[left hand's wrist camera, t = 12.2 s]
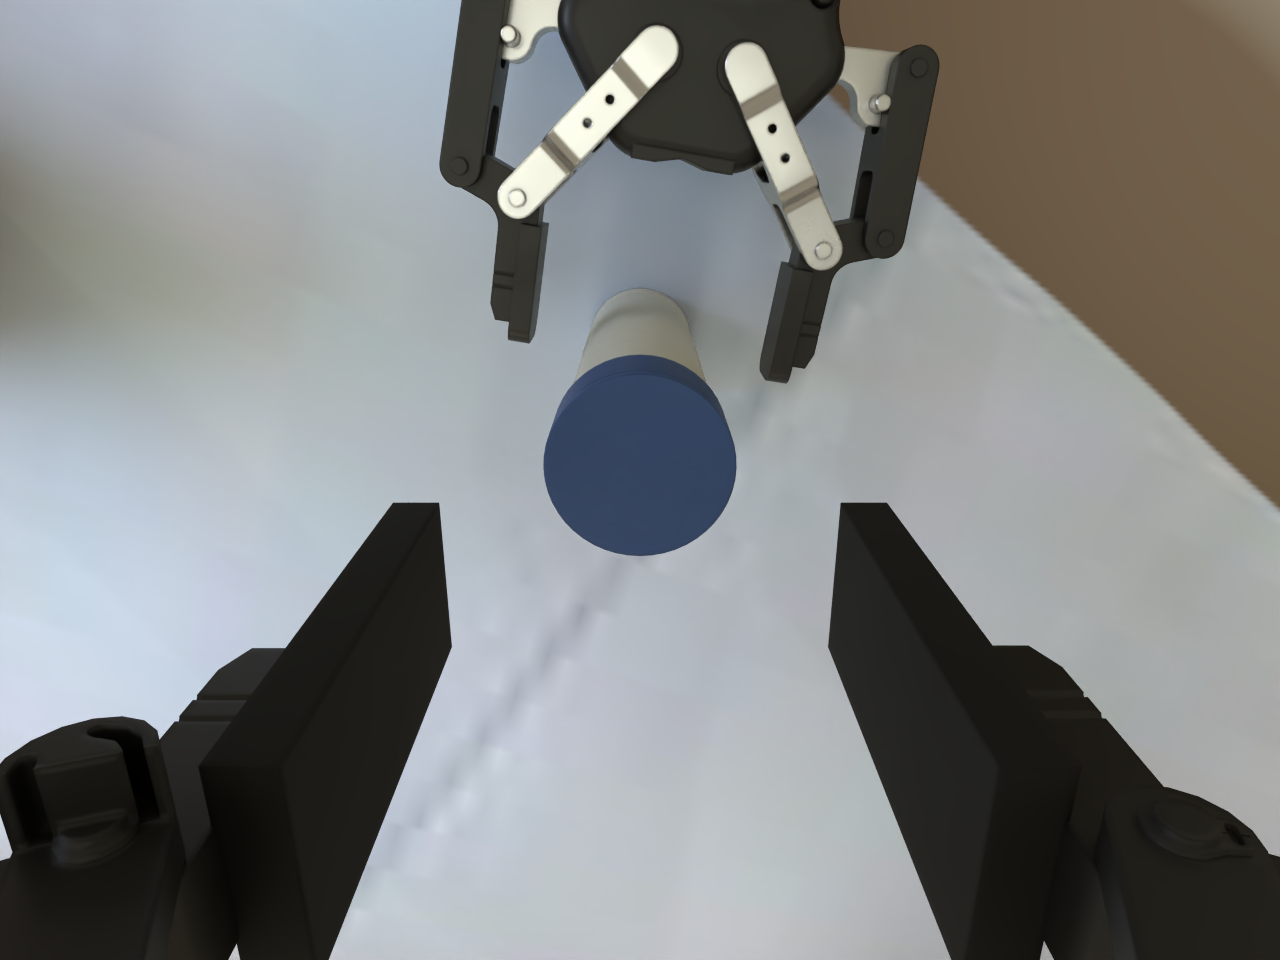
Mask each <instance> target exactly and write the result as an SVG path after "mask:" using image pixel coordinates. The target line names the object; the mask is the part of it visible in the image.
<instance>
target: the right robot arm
mask: <svg viewBox="0 0 1280 960" xmlns="http://www.w3.org/2000/svg"><path fill="white" fill-rule="evenodd" d="M839 5H840V0H462V2H461V9H460V16H459V24H458V31H457V38H456V46H455V53H454V60H453V67H452V75H451V82H450V89H449V97H448V104H447V111H446V119H445V126H444V133H443V141H442V148H441V155H440V171H441V174H442V176H443V177H444V179H445V180H446V181H447V182H448V183H449V184H451V185H453V186H455V187H461V188H463V189H464V190H466V191H468V192H470V193H471V194H473V195H475V196H477V197H478V198H480V199H482V200H484V201H485V202H487V203H488V204H489V205H490V206H491V207H492V208H493V210H494V212H495V214H496V216H497V219H498V234H497V244H496V254H495V264H494V274H493V285H492V293H491V307H492V310H493V314H494V317H495V320H501V321H507V322H509V328H508V340H511V341H518V342H524V343H530V342H531V340H532V338H533V337H534V334H535V330H536V324H537V317H538V308H539V300H540V292H541V284H542V276H543V267H544V259H545V251H546V243H547V235H548V226H549V223H545V222H542V221H543V212H544V205H545V204H546V203H547V202H548V201H549V200H550V199H551V198H552V197H553V196H554V195H555V193H556V192H557V191H558V190H559V189H560V188H561V187H562V186H563V185H564V184H565V183H566V182H567V181H568V180H569V179H570V178H571V177H572V176H573V175H574V174H575V173H576V172H577V171H578V170H579V169H580V168H581V167H582V166H583V165H584V164H585V163H586V162H587V161H588V160H589V159H590V158H591V157H592V156H593V155H594V154H595V153H596V152H597V151H598V150H599V149H600V148H601V147H602V146H603V145H604V144H605V143H606V142H607V141H608V140H609V139H610V140H611V141H612V142H613V144H614V145H615V146H616V147H617V148H618V149H620V150H621V151H622V152H624V153H625V154H627V155H629V156H631V158H635V159H641V160H646V161H652V162H658V161H667V160H677V159H679V160H682V161H684V162H686V163H688V164H690V165H693V166H695V167H697V168H699V169H701V170H703V171H709V172H715V173H720V174H727V175H732V174H733V173H739V172H742V171H745V170H748V169H750V168H752V170H753V172H754V174H755V177H756V179H757V181H758V183H759V185H760V188H761V190H762V192H763V194H764V196H765V198H766V200H767V201H768V203H769V204H770V206H771V208H772V210H773V212H774V214H775V216H776V219H777V221H778V223H779V225H780V227H781V230H782V232H783V234H784V236H785V238H786V241H787V243H788V245H789V247H790V249H791V255H790V260H789V263H788V262H782V261H781V265H780V270H779V275H778V279H777V284H776V288H775V293H774V298H773V302H772V307H771V312H770V316H769V321H768V325H767V330H766V335H765V339H764V344H763V349H762V353H761V358H760V372H761V374H762V375H763V377H764V379H765V380H767V381H773V382H779V383H787V382H788V380H789V378H790V375H791V371H792V367H798V368H804V369H805V367H806V366H807V364H808V363H809V361H810V360H811V359H812V357H813V356H814V353H815V349H816V345H817V340H818V336H819V332H820V328H821V323H822V319H823V315H824V311H825V307H826V303H827V298H828V294H829V290H830V286H831V282H832V279H833V277H834V275H835V274H836V272H837V271H838V270H839V269H840V268H842V267H843V266H845V265H846V264H849V263H852V262H857V261H862V260H868V259H873V258H881V259H885V258H889V257H892V256H894V255H895V254H897V253H898V252H899V251H900V249H901V248H902V246H903V243H904V239H905V234H906V230H907V225H908V220H909V215H910V210H911V205H912V200H913V195H914V190H915V185H916V180H917V175H918V170H919V165H920V161H921V156H922V151H923V146H924V141H925V136H926V131H927V126H928V121H929V116H930V111H931V106H932V101H933V97H934V92H935V86H936V82H937V77H938V72H939V59H938V56H937V54H936V52H935V51H934V50H933V49H932V48H930V47H928V46H926V45H916V46H913V47H910V48H908V49H906V50H903V51H901V52H893V51H884V50H876V49H867V48H859V47H850V46H844V42H843V39H842V35H841V31H840V24H839ZM555 31H556V32H559V34H560V37H561V40H562V42H563V44H564V46H565V48H566V51H567V53H568V55H569V57H570V59H571V61H572V63H573V65H574V67H575V69H576V72H577V74H578V76H579V78H580V80H581V82H582V84H583V86H584V88H585V90H586V93H585V94H584V95H583V96H582V97H581V98H580V99H579V100H578V101H577V102H576V104H575V105H574V106H573V107H572V108H571V109H570V110H569V111H568V112H567V113H566V114H565V115H564V116H563V117H562V118H561V119H560V120H559V122H558V123H557V124H556V125H555V126H554V127H553V128H552V129H551V130H550V131H549V132H548V134H547V135H546V136H545V137H544V139H543V140H542V142H541V143H540V144H539V145H538V146H537V147H536V148H535V149H534V150H533V151H532V152H531V154H530V155H529V156H528V157H527V158H526V159H525V160H524V161H523V162H522V163H521V164H520V165H519V166H518V167H517V168H516V169H515V168H513V167H511V166H510V165H508V164H506V163H504V162H503V161H501V160H499V159H498V158H496V157H495V151H496V144H497V138H498V132H499V125H500V119H501V113H502V106H503V100H504V94H505V87H506V81H507V74H508V68H509V63H514V64H520V63H523V62H525V61H527V60H528V59H529V58H530V57H531V56H532V54H533V52H534V49H535V46H536V44H537V42H538V40H539V39H540V38H541V37H542V36H543V35H544V34H546V33H548V32H555ZM836 83H837V84H840V85H841V86H843V87H844V88H845V89H846V91H847V93H848V95H849V98H850V114H851V117H852V119H853V120H854V122H856V123H857V124H858V125H859V126H862V127H866V130H865V135H864V141H863V146H862V152H861V158H860V163H859V169H858V174H857V180H856V185H855V191H854V196H853V202H852V208H851V213H850V219H845V220H839V221H834V222H833V221H832V219H831V216H830V214H829V212H828V209H827V207H826V205H825V202H824V200H823V198H822V195H821V193H820V189H819V182H818V179H817V176H816V174H815V171H814V169H813V167H812V164H811V162H810V160H809V157H808V155H807V153H806V151H805V148H804V146H803V144H802V141H801V139H800V137H799V134H798V132H797V130H796V127H795V126H796V125H797V124H798V123H799V122H800V121H801V120H802V119H803V118H804V117H805V116H806V115H807V114H808V113H809V112H810V111H811V110H812V109H813V108H814V107H815V106H816V105H817V104H818V103H819V102H820V101H821V100H822V99H823V98H824V97H825V96H826V95H827V94H828V93H829V92H830V91H831V90H832V89H833V87H834V86H835V85H836ZM591 124H592V125H591ZM590 125H591V126H590ZM589 126H590V127H589Z"/></svg>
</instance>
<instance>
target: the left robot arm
mask: <svg viewBox="0 0 1280 960" xmlns="http://www.w3.org/2000/svg"><path fill="white" fill-rule="evenodd" d="M451 648H452V644H451V632H450V621H449V609H448V598H447V587H446V575H445V564H444V553H443V541H442V530H441V518H440V507H439V503H393V504H392V505H391V506H390V508H389V509H388V510H387V512H386V513H385V514H384V516H383V517H382V519H381V520H380V521H379V523H378V524H377V525H376V527H375V528H374V529H373V531H372V532H371V533H370V535H369V536H368V537H367V539H366V540H365V542H364V543H363V544H362V546H361V547H360V548H359V550H358V551H357V552H356V554H355V555H354V556H353V558H352V559H351V560H350V562H349V563H348V564H347V566H346V567H345V569H344V570H343V571H342V573H341V574H340V575H339V577H338V578H337V579H336V581H335V582H334V583H333V585H332V586H331V587H330V589H329V590H328V592H327V593H326V594H325V596H324V597H323V598H322V600H321V601H320V602H319V604H318V605H317V606H316V608H315V609H314V610H313V612H312V613H311V615H310V616H309V617H308V619H307V620H306V621H305V623H304V624H303V625H302V627H301V628H300V629H299V631H298V632H297V633H296V635H295V636H294V637H293V639H292V640H291V642H290V643H289V644H288V646H287V647H286V648H252V649H250V650H249V651H247V652H246V653H244V654H242V655H241V656H239V657H238V658H236V659H235V660H233V661H231V662H230V663H228V664H227V665H225V666H224V667H222V668H221V669H219V670H218V671H217V672H216V673H215V674H214V676H213V677H212V678H211V679H210V680H209V682H208V683H207V684H206V685H205V686H204V688H203V689H202V690H201V691H200V692H199V693H198V695H197V700H193V701H192V702H191V703H190V704H189V705H188V707H187V708H186V709H185V710H184V711H183V712H182V714H181V715H180V716H179V718H180V719H179V722H174V723H173V724H172V726H171V727H170V728H169V729H168V730H167V731H166V733H165V734H164V735H163V736H162V737H161V739H160V740H159V736H158V732H157V730H156V729H155V728H153V727H152V726H151V725H150V724H148V723H147V722H146V721H144V720H139V719H134V718H128V717H123V716H120V717H108V718H95V719H90V720H87V721H83V722H79V723H75V724H71V725H68V726H64V727H61V728H59V729H56V730H54V731H52V732H50V733H47V734H45V735H43V736H41V737H38V738H36V739H34V740H32V741H30V742H28V743H27V744H25V745H24V746H22V747H21V748H20V749H18V750H17V751H15V752H14V753H12V754H11V755H9V756H8V757H6V758H5V759H4V760H3V761H2V762H1V764H0V815H1V818H2V821H3V824H4V827H5V830H6V833H7V836H8V839H9V843H10V846H11V849H12V852H13V853H12V855H11V857H10V858H8V859H5V860H1V861H0V960H228V959H229V957H230V955H231V953H232V951H233V949H234V948H235V946H236V944H237V947H238V951H239V956H240V960H329V957H330V955H331V952H332V950H333V947H334V945H335V942H336V940H337V937H338V934H339V932H340V929H341V927H342V924H343V922H344V919H345V917H346V914H347V912H348V909H349V907H350V904H351V901H352V899H353V896H354V894H355V891H356V889H357V886H358V884H359V881H360V879H361V876H362V874H363V871H364V868H365V866H366V863H367V861H368V858H369V856H370V853H371V851H372V848H373V846H374V843H375V841H376V838H377V835H378V833H379V830H380V828H381V825H382V823H383V820H384V818H385V815H386V813H387V810H388V808H389V805H390V802H391V800H392V797H393V795H394V792H395V790H396V787H397V785H398V782H399V780H400V777H401V775H402V772H403V769H404V767H405V764H406V762H407V759H408V757H409V754H410V752H411V749H412V747H413V744H414V742H415V739H416V736H417V734H418V731H419V729H420V726H421V724H422V721H423V719H424V716H425V714H426V711H427V709H428V706H429V703H430V701H431V698H432V696H433V693H434V691H435V688H436V686H437V683H438V681H439V678H440V676H441V673H442V670H443V668H444V665H445V663H446V660H447V658H448V655H449V653H450V650H451ZM828 648H829V650H830V653H831V655H832V658H833V660H834V663H835V665H836V668H837V671H838V673H839V676H840V678H841V681H842V683H843V686H844V688H845V691H846V693H847V696H848V698H849V701H850V703H851V706H852V709H853V711H854V714H855V716H856V719H857V721H858V724H859V726H860V729H861V731H862V734H863V736H864V739H865V742H866V744H867V747H868V749H869V752H870V754H871V757H872V759H873V762H874V764H875V767H876V769H877V772H878V775H879V777H880V780H881V782H882V785H883V787H884V790H885V792H886V795H887V797H888V800H889V802H890V805H891V808H892V810H893V813H894V815H895V818H896V820H897V823H898V825H899V828H900V830H901V833H902V835H903V838H904V841H905V843H906V846H907V848H908V851H909V853H910V856H911V858H912V861H913V863H914V866H915V868H916V871H917V874H918V876H919V879H920V881H921V884H922V886H923V889H924V891H925V894H926V896H927V899H928V901H929V904H930V907H931V909H932V912H933V914H934V917H935V919H936V922H937V924H938V927H939V929H940V932H941V934H942V937H943V940H944V942H945V945H946V947H947V950H948V952H949V955H950V957H951V960H1040V956H1041V951H1042V947H1043V942H1044V941H1045V943H1046V945H1047V947H1048V949H1049V951H1050V953H1051V955H1052V957H1053V958H1054V960H1280V857H1278V856H1275V855H1271V854H1269V853H1268V851H1267V850H1266V848H1265V847H1264V846H1263V844H1262V843H1261V842H1260V840H1259V839H1258V837H1257V836H1256V835H1255V833H1254V832H1253V831H1252V830H1251V829H1250V828H1249V827H1247V826H1246V825H1245V824H1243V823H1242V822H1241V821H1240V820H1238V819H1237V818H1236V817H1234V816H1233V815H1232V814H1231V813H1229V812H1228V811H1226V810H1224V809H1222V808H1220V807H1218V806H1216V805H1214V804H1212V803H1210V802H1208V801H1206V800H1204V799H1202V798H1200V797H1198V796H1195V795H1192V794H1188V793H1185V792H1182V791H1178V790H1175V789H1172V788H1168V787H1163V785H1162V784H1161V783H1160V782H1159V781H1158V779H1157V778H1156V777H1155V776H1154V775H1153V774H1152V772H1151V771H1150V770H1149V769H1148V768H1147V767H1146V765H1145V764H1144V763H1143V762H1142V761H1141V759H1140V758H1139V757H1138V756H1137V755H1136V754H1135V752H1134V751H1133V750H1132V749H1131V748H1130V746H1129V745H1128V744H1127V743H1126V742H1125V741H1124V739H1123V738H1122V737H1121V736H1120V735H1119V733H1118V732H1117V731H1116V730H1115V729H1114V728H1113V726H1112V725H1111V724H1110V723H1109V722H1108V721H1107V719H1102V717H1101V712H1100V711H1099V710H1098V709H1097V708H1096V706H1095V705H1094V704H1093V703H1092V702H1091V700H1090V699H1089V698H1088V697H1084V695H1083V691H1082V690H1081V689H1080V688H1079V686H1078V685H1077V684H1076V683H1075V682H1074V680H1073V679H1072V678H1071V677H1070V676H1069V675H1068V673H1067V672H1066V671H1065V670H1064V669H1063V667H1061V666H1060V665H1058V664H1057V663H1055V662H1053V661H1052V660H1050V659H1049V658H1047V657H1046V656H1044V655H1042V654H1041V653H1039V652H1038V651H1036V650H1035V649H1033V648H1031V647H1030V646H992V644H991V643H990V642H989V640H988V639H987V637H986V636H985V635H984V633H983V632H982V631H981V629H980V628H979V627H978V625H977V624H976V623H975V621H974V620H973V619H972V617H971V616H970V615H969V613H968V612H967V610H966V609H965V608H964V606H963V605H962V604H961V602H960V601H959V600H958V598H957V597H956V596H955V594H954V593H953V592H952V590H951V589H950V587H949V586H948V585H947V583H946V582H945V581H944V579H943V578H942V577H941V575H940V574H939V573H938V571H937V570H936V569H935V567H934V566H933V564H932V563H931V562H930V560H929V559H928V558H927V556H926V555H925V554H924V552H923V551H922V550H921V548H920V547H919V546H918V544H917V543H916V542H915V540H914V539H913V537H912V536H911V535H910V533H909V532H908V531H907V529H906V528H905V527H904V525H903V524H902V523H901V521H900V520H899V519H898V517H897V516H896V514H895V513H894V512H893V510H892V509H891V508H890V506H889V505H888V504H887V503H841V507H840V518H839V530H838V541H837V552H836V564H835V575H834V587H833V598H832V609H831V621H830V632H829V644H828Z"/></svg>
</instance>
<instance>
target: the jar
mask: <svg viewBox="0 0 1280 960" xmlns="http://www.w3.org/2000/svg"><path fill="white" fill-rule="evenodd" d="M627 355H653V356H658V357H663V358H666V359H669V360H672V361H675V362H677V363H679V364H681V365H683V366H685V367H687V368H688V369H690V370H691V371H693V372H694V373H696V374H697V375H698V376H699V377H700V378H701V379H702V380H704V382H705V383H706V380H705V377H704V374H703V371H702V367H701V364H700V361H699V358H698V355H697V351H696V348H695V345H694V342H693V338H692V335H691V332H690V329H689V326H688V322H687V320H686V317H685V315H684V313H683V312H682V310H681V309H680V308H679V306H678V305H677V304H676V303H675V302H674V301H673V300H672V299H670V298H669V297H667V296H666V295H664V294H662V293H660V292H657V291H654V290H650V289H642V288H638V289H630V290H626V291H623V292H620V293H618V294H616V295H614V296H613V297H611V298H610V299H608V300H607V301H606V302H605V303H604V304H603V305H602V306H601V308H600V309H599V310H598V312H597V313H596V315H595V317H594V320H593V322H592V326H591V329H590V332H589V335H588V338H587V342H586V345H585V348H584V351H583V355H582V358H581V361H580V364H579V367H578V371H577V374H576V377H575V380H574V383H575V382H576V380H578V379H579V378H580V377H581V376H582V375H583V374H584V373H586V372H587V371H589V370H590V369H592V368H593V367H595V366H597V365H599V364H601V363H603V362H605V361H608V360H611V359H614V358H617V357H622V356H627Z"/></svg>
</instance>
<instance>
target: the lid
mask: <svg viewBox="0 0 1280 960" xmlns="http://www.w3.org/2000/svg"><path fill="white" fill-rule="evenodd" d="M544 477H545V483H546V486H547V490H548V493H549V496H550V498H551V501H552V503H553V505H554V507H555V508H556V510H557V512H558V513H559V515H560V516H561V517H562V519H563V520H564V521H565V523H566V524H567V525H568V526H569V527H570V528H571V529H572V530H573V531H574V532H576V533H577V534H578V535H580V536H581V537H582V538H583V539H585V540H587V541H588V542H590V543H592V544H593V545H596V546H598V547H600V548H602V549H605V550H608V551H611V552H614V553H619V554H624V555H633V556H647V555H656V554H661V553H666V552H669V551H672V550H675V549H678V548H680V547H682V546H684V545H687V544H688V543H690V542H692V541H693V540H695V539H697V538H698V537H699V536H700V535H702V534H703V533H704V532H706V531H707V530H708V529H709V528H710V527H711V526H712V525H713V524H714V523H715V521H716V520H717V519H718V517H719V516H720V515H721V513H722V512H723V510H724V508H725V507H726V505H727V503H728V501H729V498H730V496H731V493H732V490H733V486H734V483H735V477H736V453H735V447H734V443H733V439H732V436H731V433H730V430H729V427H728V424H727V421H726V419H725V416H724V413H723V410H722V407H721V405H720V403H719V401H718V399H717V397H716V396H715V394H714V393H713V391H712V390H711V388H710V387H709V386H708V385H707V384H706V383H705V382H704V380H702V379H701V378H700V377H699V376H698V375H697V374H696V373H694V372H693V371H691V370H690V369H688V368H687V367H685V366H683V365H681V364H679V363H677V362H675V361H672V360H669V359H666V358H663V357H658V356H653V355H627V356H622V357H617V358H614V359H611V360H608V361H605V362H603V363H601V364H599V365H597V366H595V367H593V368H592V369H590V370H589V371H587V372H586V373H584V374H583V375H582V376H581V377H580V378H579V379H578V380H576V382H575V383H574V384H573V385H572V386H571V387H570V388H569V390H568V391H567V393H566V394H565V396H564V397H563V399H562V401H561V403H560V405H559V407H558V410H557V413H556V416H555V419H554V421H553V424H552V427H551V430H550V433H549V436H548V439H547V443H546V447H545V453H544Z"/></svg>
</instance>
